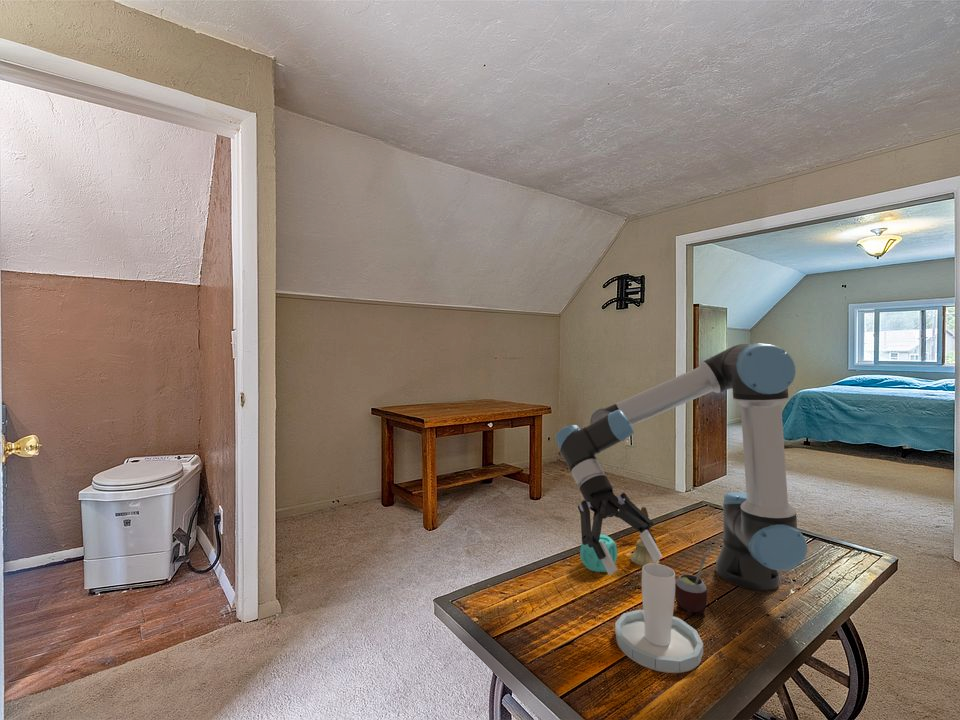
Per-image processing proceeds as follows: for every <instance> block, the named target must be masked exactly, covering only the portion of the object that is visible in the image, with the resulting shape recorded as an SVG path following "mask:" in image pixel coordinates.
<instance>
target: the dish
mask: <svg viewBox="0 0 960 720" xmlns="http://www.w3.org/2000/svg"><path fill="white" fill-rule="evenodd" d="M614 626H615V627H614V628H615V629H614V633H615V639H616V643H617V647H619V649H620V651H621V652H623V654H624V655H625V656H627V657H628V659H630V660H632V661H634V662H635V663H636V664H638V665H641V666H642V667H644V668H647V669H650V670H653V671H656V672H660V673H666V674H681V673H687V672H690V671H692V670H694V669H696V668H697V667H698V666H699V665H700V664H701V663H702V658H703V655H704V642H703V640H702V638H701V637H700V635H699V633H698V631H697V630H696V628H694V627H693V626H691V625H689V624H688V623H687V622H686V621H684V620H683V619H681V618H680V617H677V616H674V615H673V620H672V630H671V642H670V644H669V645H667V646H657V645H654V644H652V643H650V642H649V641H648V640H647V639H646V638H645V635H644V613H643V609H636V610H632V611H628V612H624V613H622V614H621V615H620V617H618V618H617V621H615V623H614Z"/></svg>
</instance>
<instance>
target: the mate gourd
mask: <svg viewBox="0 0 960 720" xmlns="http://www.w3.org/2000/svg"><path fill="white" fill-rule="evenodd" d="M712 550H713V548H712V547H710V548H709V549H708V550H707V551H706V552H705V553H704V555H703V556H702V557H701V560H700V564H699V568H698V572H697V575H693V574H682V575H680V576H679V577H677V578H676V580H675V581H676V589H675V600H676V604H677V605H676V609H677V610H679V611H681V612H685V613H687V614H686V619H688V620H691V618H692V617H693V615H694V616H699V617H701V618H705V617H706V614H705V611H706V610H707V606H708V595H709V594H708V590H707V586H706V584H705V583H704V581H703V579H701V578H700V577H701V574H702V570H703V566H704V564H705V562H706V558H707V557H708V555H709V554H710V553H711V551H712Z"/></svg>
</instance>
